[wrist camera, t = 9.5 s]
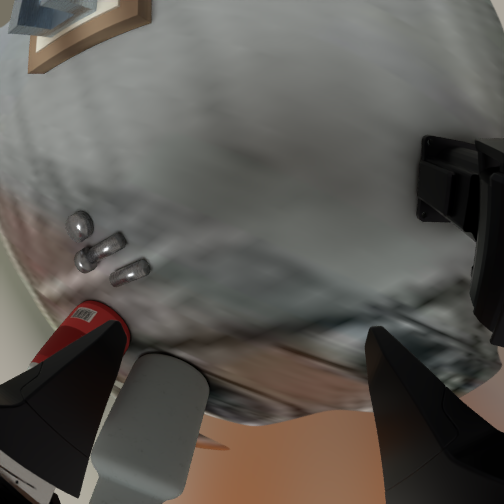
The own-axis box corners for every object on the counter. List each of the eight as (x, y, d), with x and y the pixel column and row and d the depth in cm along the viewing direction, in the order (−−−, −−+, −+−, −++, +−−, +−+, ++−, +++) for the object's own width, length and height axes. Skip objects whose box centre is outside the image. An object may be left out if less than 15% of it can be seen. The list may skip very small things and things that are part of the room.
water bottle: (229, 388, 29) (183, 601, 5) (183, 405, 33) (132, 572, 8) (162, 338, 27) (66, 575, 2) (124, 365, 30) (45, 540, 6)
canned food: (70, 314, 28) (22, 374, 18) (93, 286, 25) (32, 358, 15) (113, 355, 30) (76, 420, 20) (144, 335, 27) (101, 416, 17)
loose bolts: (106, 190, 20) (91, 198, 18) (152, 270, 23) (141, 283, 21) (68, 219, 21) (53, 228, 19) (109, 287, 24) (98, 300, 22)
